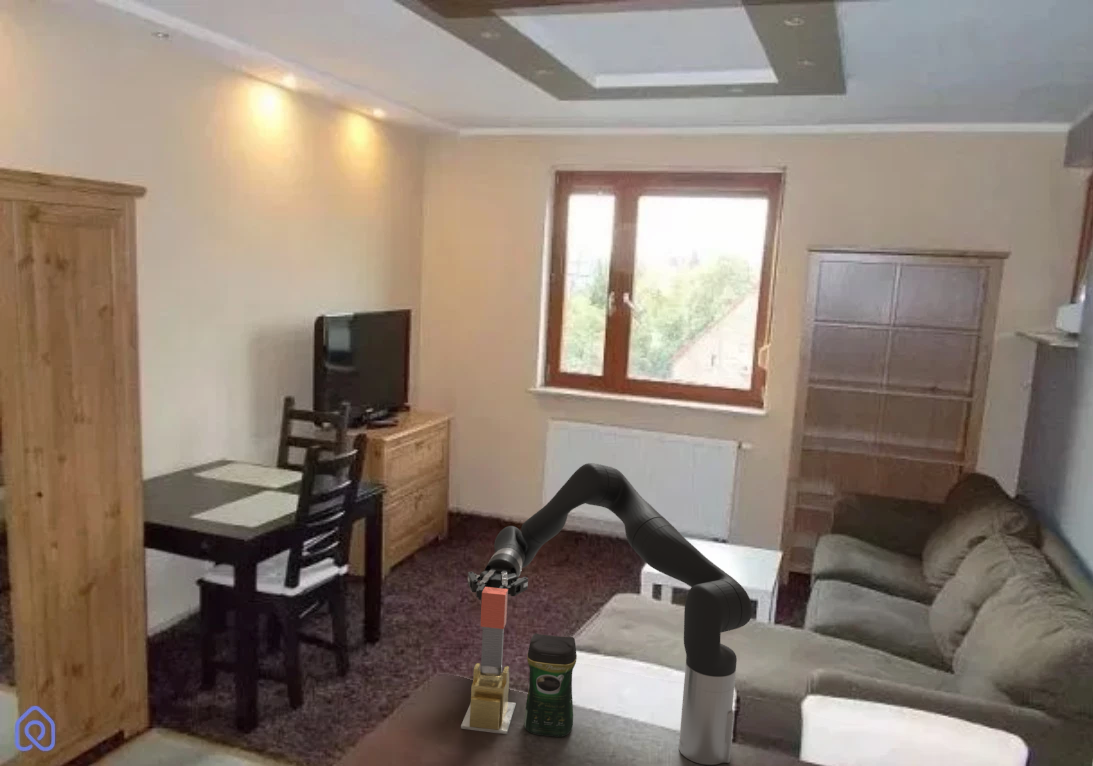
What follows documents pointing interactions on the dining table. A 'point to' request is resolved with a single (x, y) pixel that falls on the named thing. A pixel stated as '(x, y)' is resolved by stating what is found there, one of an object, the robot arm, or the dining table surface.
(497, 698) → the gold lever base
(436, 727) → the dining table surface
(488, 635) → the lever
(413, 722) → the dining table surface
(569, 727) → the coffee jar
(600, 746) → the dining table surface
